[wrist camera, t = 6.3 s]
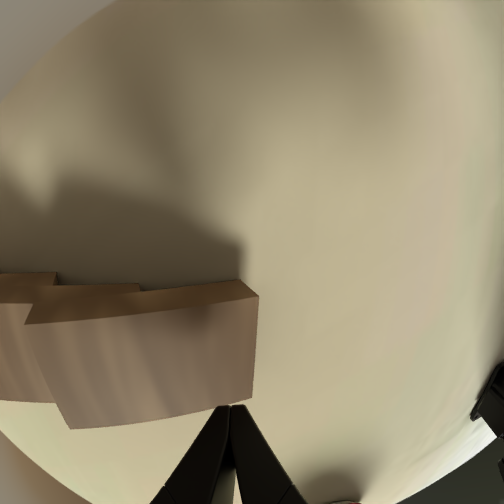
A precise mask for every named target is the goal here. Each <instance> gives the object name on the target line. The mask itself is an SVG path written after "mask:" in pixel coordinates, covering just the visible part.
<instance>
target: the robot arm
mask: <svg viewBox="0 0 504 504" xmlns="http://www.w3.org/2000/svg"><path fill="white" fill-rule="evenodd" d="M480 417H482V418H483V419H484V420H485V422H486V423H487V424H488V426H489V427H490V428H491V430H492V431H493V432H494V433H495V435H496V436H497V437H498V439H502V440H503V441H504V362H502V363H500V364H499V365H498V366H497V367H496V369H495V370H494V373H493V375H492V377H491V379H490V381H489V383H488V385H487V387H486V389H485V391H484V393H483V395H482V397H481V399H480V401H479V403H478V404H477V406H476V408H475V410H474V412H473V413H472V415H471V417H470V419H471V420H472V421H475V420H477V419H478V418H480ZM498 466H499V469H500V473H501V476H502V478H503V481H504V457H503V458H501V460H499V461H498ZM236 475H237V480H238V485H239V490H240V495H241V500H242V504H308V503H307V502H306V500H305V499H304V498H303V496H302V495H301V494H300V492H299V491H298V489H297V488H296V486H295V485H294V484H293V482H292V481H291V479H290V478H289V476H288V475H287V473H286V472H285V470H284V469H283V467H282V465H281V464H280V462H279V461H278V459H277V458H276V456H275V454H274V453H273V451H272V450H271V448H270V446H269V445H268V443H267V441H266V440H265V438H264V436H263V435H262V433H261V431H260V430H259V428H258V426H257V425H256V423H255V421H254V420H253V418H252V416H251V414H250V413H249V411H248V409H247V407H246V406H245V405H243V404H242V405H232V406H229V405H219V406H217V407H216V408H215V410H214V411H213V413H212V414H211V416H210V418H209V419H208V421H207V422H206V424H205V425H204V427H203V428H202V430H201V431H200V433H199V434H198V436H197V437H196V439H195V440H194V442H193V443H192V445H191V446H190V448H189V449H188V451H187V452H186V454H185V455H184V457H183V458H182V460H181V461H180V463H179V464H178V465H177V467H176V468H175V470H174V471H173V473H172V474H171V476H170V477H169V478H168V480H167V481H166V483H165V484H164V485H165V486H163V487H162V488H161V489H160V491H159V492H158V494H157V495H156V496H155V497H154V499H153V500H152V501H151V502H150V504H233V496H234V486H235V476H236Z"/></svg>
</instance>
